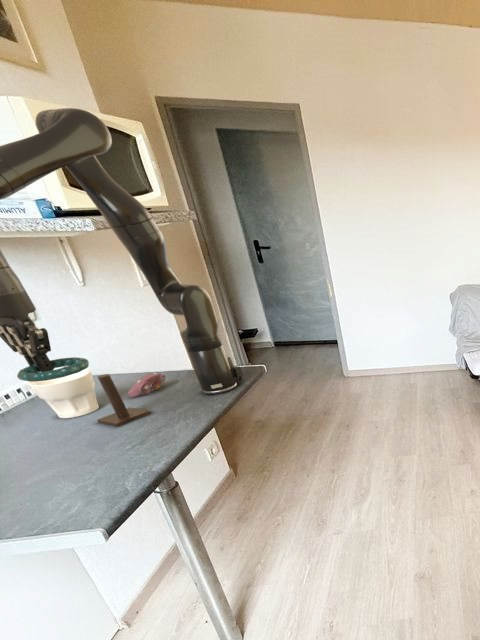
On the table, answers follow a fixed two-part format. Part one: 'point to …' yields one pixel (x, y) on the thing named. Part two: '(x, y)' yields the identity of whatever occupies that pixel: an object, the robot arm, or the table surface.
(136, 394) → the pink oval lump
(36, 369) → the ring
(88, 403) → the cup
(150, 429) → the table surface
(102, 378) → the post
